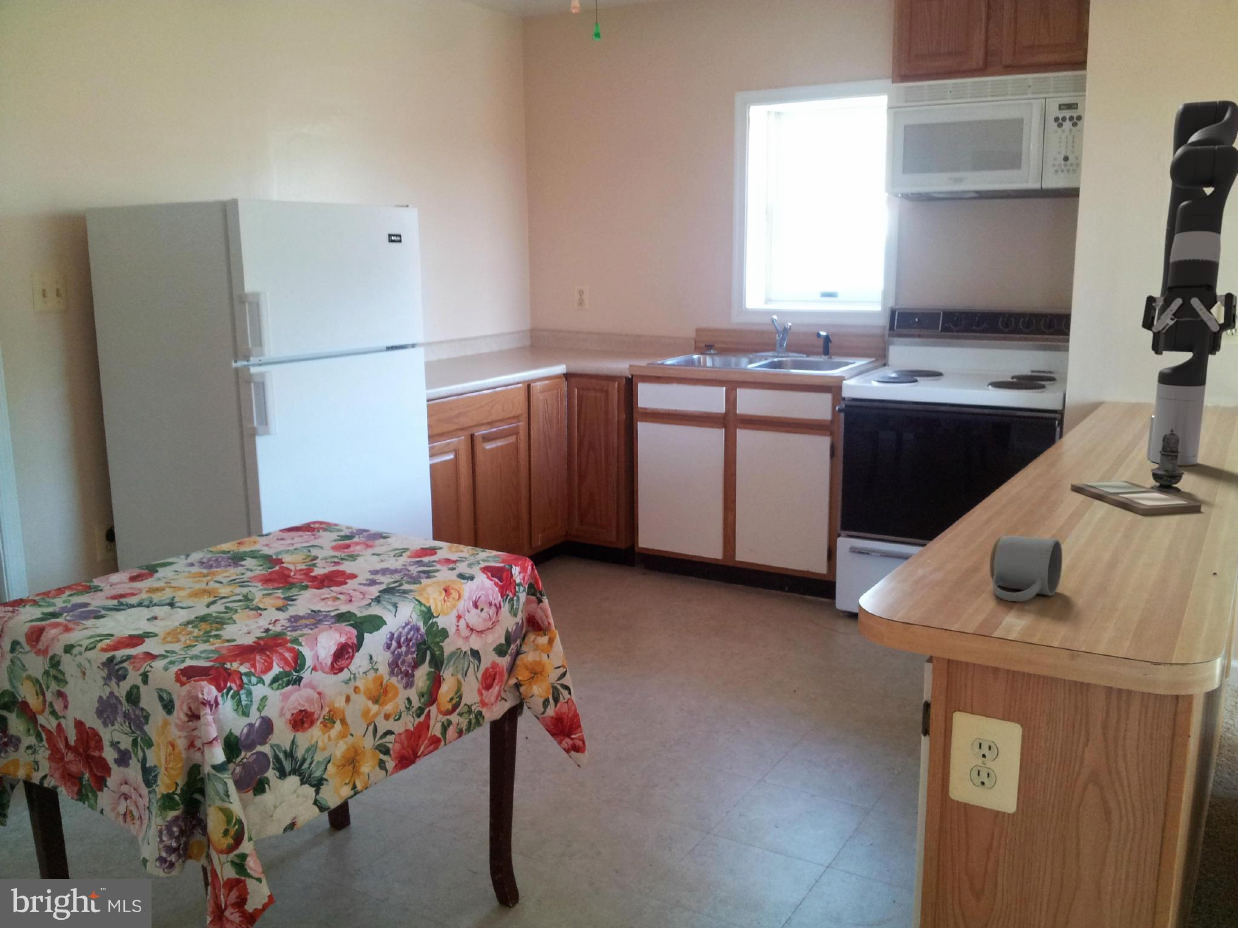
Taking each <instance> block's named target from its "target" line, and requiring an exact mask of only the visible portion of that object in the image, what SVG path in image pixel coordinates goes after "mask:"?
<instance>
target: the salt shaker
mask: <svg viewBox="0 0 1238 928" xmlns="http://www.w3.org/2000/svg"><path fill="white" fill-rule="evenodd" d="M1178 447H1179V436H1178V435H1176V434H1174V433H1173V429H1171V430H1170V433H1168V434H1165V435H1164V436H1163V439H1162V449H1161V450H1160V451H1159V453H1160V462H1159V463H1158V466H1157V467H1155V468H1152V469H1150V473H1151V477H1152V479H1153V481H1154V482H1155V483H1157V484H1153V485H1151V487H1150V489H1154V490H1157V491H1160V492H1163V493H1167V494H1169V493H1171V494H1172V493H1175V494H1176V493H1180V492H1181V491H1182V490H1181V488H1180V487H1178V486H1176V485H1178V484H1179V483H1180V482H1181V481H1182V479H1183V476H1184V475H1185V473H1186V472H1185V471H1182V470H1181V469H1179V465H1177V461H1178V455H1179V454H1180V452H1178Z"/></svg>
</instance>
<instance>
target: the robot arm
mask: <svg viewBox="0 0 1238 928" xmlns="http://www.w3.org/2000/svg"><path fill="white" fill-rule="evenodd" d="M1173 124H1174V125H1173V142H1172V145H1173V146H1172V160H1171V163H1170V165H1169V178H1170V181H1171V188H1170V196H1169V197H1170V198H1169V205H1168V212H1167V217H1166V218H1167V220H1166V227H1165V237H1164V252H1163V253H1164V255H1163V268H1162V269H1163V270H1162V271H1163V272H1162V282H1161V288H1160V295H1159V296H1155V295H1152V294H1151V295H1148V296H1147V297H1146V299H1145V304H1144V311H1143V317H1142V322H1141V327H1142V328H1143V329H1144V330H1147V331H1150V332H1151V333H1152V339H1151V348H1150V349H1151V351H1152V352H1154V355H1155V356H1163V354H1164V352H1169V353H1170V352H1172V353H1173V352H1174V353H1175V352H1176V353H1177V352H1178V353H1192V355H1191V357H1190V358H1188V359H1187V360H1185V361H1184V362H1182V363H1179V364H1176V365H1173V366H1169V367H1163V368H1162V369H1160V370H1159V371H1158V375H1157V385H1156V394H1155V401H1154V402H1155V405H1154V411H1153V412H1154V413H1153V414H1154V415H1151V417H1150V421H1149V431H1148V433H1149V434H1148V440H1147V449H1146V450H1147V452H1146V459H1149V461H1151V462H1153V463H1158V464H1159V462H1160V453H1159V451H1160V450H1161V449H1162V439H1163V436H1164V435H1165V434H1168V433H1170V430H1171V429H1173V433H1174V434H1176V435H1178V436H1179V447H1178V452H1180V454H1179V455H1178V461H1177V465H1178V466H1195V465H1197V464H1198V459H1199V451H1200V442H1201V434H1202V433H1201V431H1202V424H1203V423H1202V422H1203V413H1204V405H1205V396H1206V395H1205V394H1206V387H1207V386H1206V385H1207V376H1208V375H1207V374H1208V366H1209V356H1216V354H1217V353H1219V352H1220V351H1221V348H1222V347H1221V346H1222V340H1223V339H1222V338H1223V334H1224V333H1225V332H1227V331H1230V330H1232V331H1233V330H1234V329H1235V328H1236V327H1237V326H1236V325H1237V324H1236V323H1237V303H1238V302H1237V300H1238V299H1237V298H1238V297H1237V295H1236V294H1234V293H1232V292H1230V291H1229V292H1226V293H1225V294H1218V293H1217V287H1218V278H1219V277H1218V276H1219V271H1220V270H1219V268H1220V261H1221V252H1222V251H1221V249H1222V245H1221V243H1222V242H1221V241H1222V240H1221V237H1222V235H1221V233H1222V226H1223V219H1224V218H1223V217H1224V211H1225V206H1226V203H1227V200H1228V197H1229V195H1230V191H1231V190H1232V187H1233V185H1234V183H1235V181H1236V179H1237V176H1238V148H1236V147H1235V146H1234V144H1235V142H1236V139H1237V136H1238V104H1237V103H1236V102H1235V101H1232V100H1226V99H1225V100H1224V99H1223V100H1218V101H1217V100H1209V101H1208V100H1207V101H1194V102H1192V101H1191V102H1184V103H1182V104H1180V106H1179V107H1178V109H1177V111H1176V114H1175V119H1174V123H1173ZM1210 188H1212V189H1213V190H1212V191H1211V192H1210V193H1209V194H1208V193H1207V192H1206V190H1205V189H1210ZM1218 302H1219V303H1220V306H1222V307H1223V322H1221V323H1220V321H1218V319H1217V317H1216V316H1215V315H1214V313H1213V312H1212V309H1213V308H1214V307H1215V306H1217V304H1218Z"/></svg>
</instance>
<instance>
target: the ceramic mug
mask: <svg viewBox="0 0 1238 928" xmlns="http://www.w3.org/2000/svg"><path fill="white" fill-rule="evenodd" d="M1062 570H1063V548H1062V544H1061V542H1060V540H1059V539H1058V538H1045V537H1035V536H1034V537H1033V536H1032V537H1031V536H1019V535H1004V536H1003V535H1002V536H999V537H998V538H997V539H996V540H995V542H994V544H993V546H992V548H991V552H990V557H989V574H990V578H991V580H992V588H993V592H994V594H995V596H997V597H998V598H1000V599H1001V598H1002V599H1001V600H1003V599H1004V600H1003V601H1005V600H1008V601H1007V602H1010V601H1021V602H1025V601H1028V600H1031V599H1032V598H1034V597H1035V596H1036V595H1043V596H1050V597H1051V596H1053V595H1055V593H1056V591H1057V590H1058V588H1059V585H1060V580H1061V577H1062ZM998 586H1001V587H1004V588H1006V589H1007V588H1008V589H1012V590H1018V592H1010V591H1005V590H1003V589H1001V588H1000V587H998Z"/></svg>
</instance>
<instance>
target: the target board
mask: <svg viewBox="0 0 1238 928" xmlns="http://www.w3.org/2000/svg"><path fill="white" fill-rule="evenodd" d="M1070 491H1073V492H1075V493H1078V494H1081V495H1084V496H1087V497H1089V498H1093V499H1095V500H1097V501H1098V500H1099V501H1101V502H1103V503H1108V504H1109V505H1112V506H1115V507H1119V508H1120V509H1124V510H1126V511H1128V512H1132V513H1134V514H1138V515H1140V516H1148V515H1163V514H1176V513H1177V514H1178V513H1193V512H1201V510H1202V503H1199V502H1198V503H1197V502H1194V501H1191V500H1189V499H1185V498H1181V497H1179V496H1176V495H1172V494H1169V493H1167V492H1160V491H1157V490H1154V489H1151V487H1147V486H1143V485H1141V484H1137V483H1135V482H1130V481H1128V480H1112V481H1097V482H1095V481H1094V482H1078V483H1070Z"/></svg>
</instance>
